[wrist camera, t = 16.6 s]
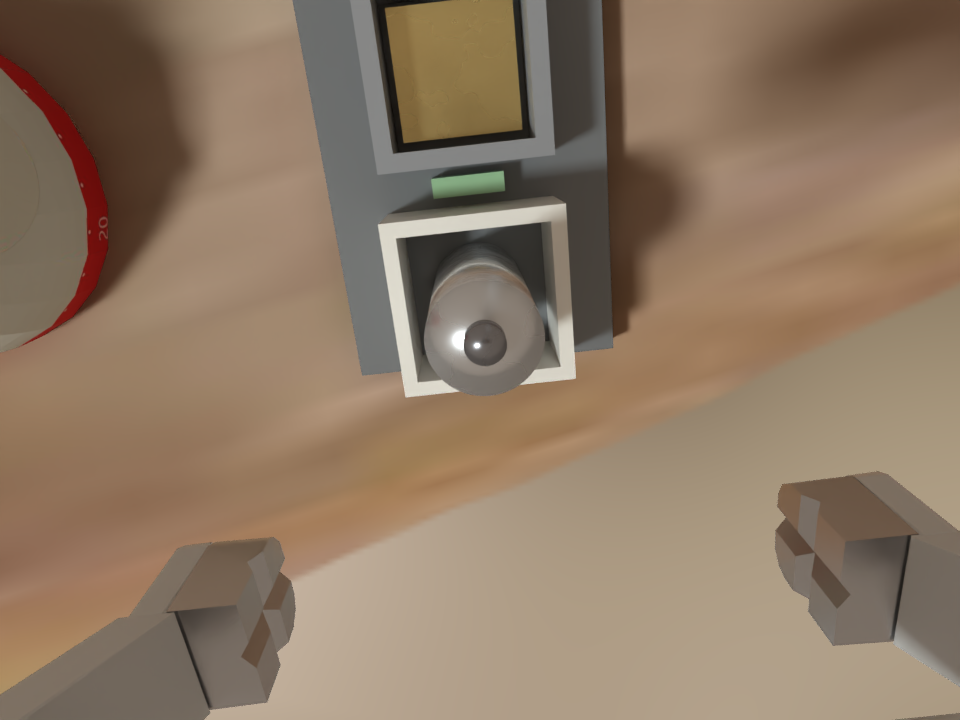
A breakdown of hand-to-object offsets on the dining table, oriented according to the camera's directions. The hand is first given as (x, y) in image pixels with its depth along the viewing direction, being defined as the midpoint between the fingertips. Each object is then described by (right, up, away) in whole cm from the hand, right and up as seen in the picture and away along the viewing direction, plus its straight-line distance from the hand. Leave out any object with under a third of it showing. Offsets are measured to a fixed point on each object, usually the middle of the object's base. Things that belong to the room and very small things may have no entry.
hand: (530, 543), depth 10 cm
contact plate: (-2, +14, +14) cm, 20 cm away
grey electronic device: (-1, +11, +17) cm, 20 cm away
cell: (-1, +6, +18) cm, 19 cm away
